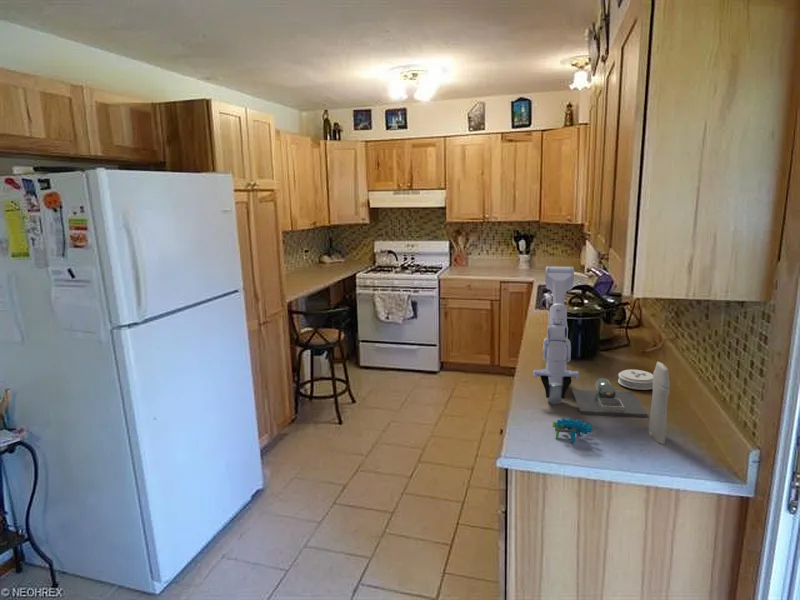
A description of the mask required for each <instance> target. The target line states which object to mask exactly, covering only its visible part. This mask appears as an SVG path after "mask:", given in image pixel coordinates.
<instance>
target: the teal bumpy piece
mask: <svg viewBox="0 0 800 600" xmlns="http://www.w3.org/2000/svg"><path fill="white" fill-rule="evenodd" d="M552 428H554V431H555V440H556V439H557V440H558V439H559V435H560V433H566V434H567V433H568V434H571V435H570V444H575V439H576V434H577V435H581V433H582V434H584V435H588V433H589V434H591V433H592V431H593V429H594V427H593V426H592V425H590V423H589V422H587V421H585V422H583V423H582V419H577V418H576V421H575V420H574V419H573V417H568V418H567V419H566V418H564V417H562V418H560V419H557V421H553V422H552Z"/></svg>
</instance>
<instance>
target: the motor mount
mask: <svg viewBox="0 0 800 600" xmlns="http://www.w3.org/2000/svg"><path fill="white" fill-rule="evenodd" d="M594 386H595V388H596V389H595V390H589V389H588V390H585V389H572V395H573V398H574V400H575V403H576V406H577V408H578V411H579V413H580V414H582V415H595V416H599V415H601V416H614V417H615V416H616V417H617V416H618V417H619V416H620V417H634V418H635V417H637V418H639V417H641V418H648V412H647V411H646V410H645V409H644V407H643V406H642V403H641V402H640V401H639V400H638V399H637V397H636V395H635V394H634V392H632V391H629V392H628V391H616V390H615V388H614V387H613V386H612V383H611V382H610V380H609V379H608V378H604V377H601V378H598V379H596V382H595V384H594Z"/></svg>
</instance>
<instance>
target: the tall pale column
mask: <svg viewBox="0 0 800 600" xmlns="http://www.w3.org/2000/svg"><path fill="white" fill-rule="evenodd" d="M652 374H653V389H652V397H651V398H652V399H651V405H650V415H649V423H648V424H649V425H648V436H649V438H652V439H654V441H656V442H657V444H660V445H665V443H666V433H667V420H668V418H667V415H668V414H667V411H668V410H667V409H668V401H669V395H670V390H671V389H670V387H671V380H670V375H669V374H670V373H669V368H668V366H667V365H666V364H664V363H663V362H660V361H657V362H656V364H655V368H654V370H653V373H652Z"/></svg>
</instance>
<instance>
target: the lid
mask: <svg viewBox="0 0 800 600" xmlns="http://www.w3.org/2000/svg"><path fill="white" fill-rule="evenodd" d="M617 376H618V380H617V383H618V384H619V385H621V386H622V387H625V388H628V389H632V390H642V391H643V390H644V391H647V390H653V373H651V372H650V371H649V372H648V371H646V370H640V369H625V370H624V369H623V370H622V371H620V372H618V374H617Z"/></svg>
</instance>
